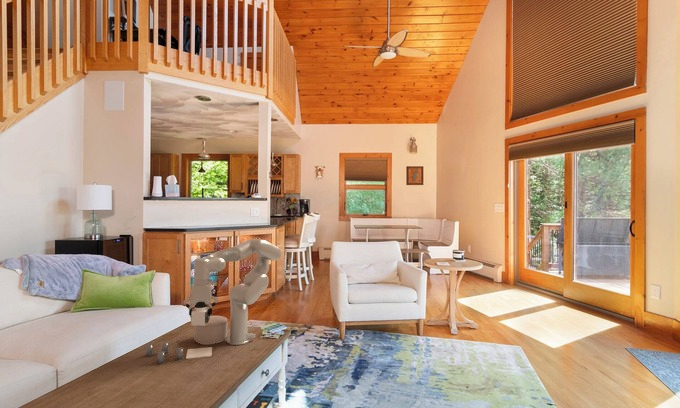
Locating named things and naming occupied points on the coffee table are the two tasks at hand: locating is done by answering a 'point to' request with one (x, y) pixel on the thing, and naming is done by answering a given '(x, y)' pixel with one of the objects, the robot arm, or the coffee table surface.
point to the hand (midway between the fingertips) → (200, 315)
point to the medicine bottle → (200, 314)
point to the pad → (199, 353)
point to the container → (211, 331)
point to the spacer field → (163, 352)
